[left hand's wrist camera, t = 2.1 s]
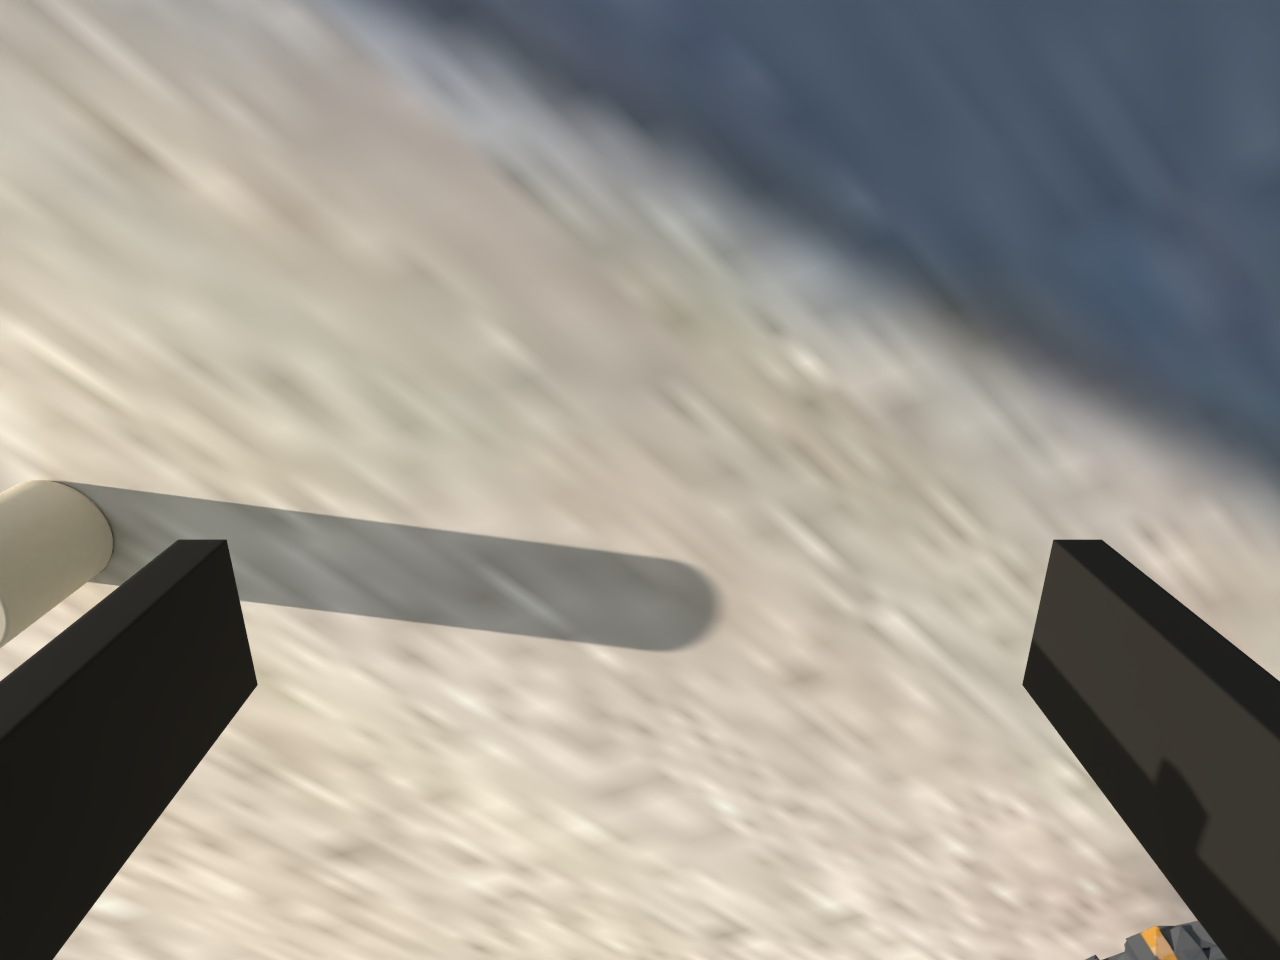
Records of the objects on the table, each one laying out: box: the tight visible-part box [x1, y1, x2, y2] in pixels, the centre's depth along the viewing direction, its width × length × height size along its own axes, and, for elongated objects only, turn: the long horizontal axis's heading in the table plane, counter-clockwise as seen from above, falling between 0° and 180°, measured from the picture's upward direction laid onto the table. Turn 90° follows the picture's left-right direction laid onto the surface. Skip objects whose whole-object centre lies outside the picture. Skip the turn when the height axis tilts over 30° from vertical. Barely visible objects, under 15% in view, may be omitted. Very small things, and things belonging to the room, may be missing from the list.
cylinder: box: [0, 480, 113, 648], centre depth 24 cm, size 4×4×5 cm
